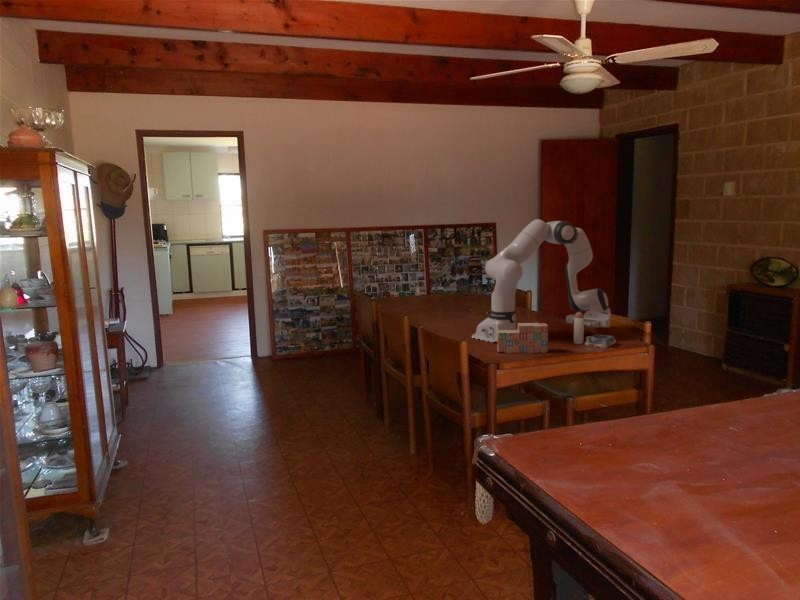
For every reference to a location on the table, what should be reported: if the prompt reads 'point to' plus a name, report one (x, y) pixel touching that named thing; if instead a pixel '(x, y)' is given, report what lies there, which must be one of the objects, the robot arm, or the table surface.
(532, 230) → the robot arm
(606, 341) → the jig
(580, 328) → the fuselage
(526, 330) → the stack of blocks
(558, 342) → the table surface
